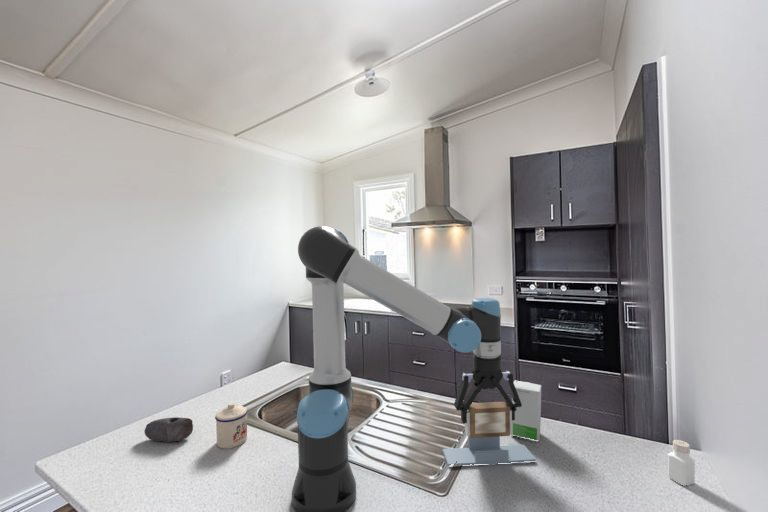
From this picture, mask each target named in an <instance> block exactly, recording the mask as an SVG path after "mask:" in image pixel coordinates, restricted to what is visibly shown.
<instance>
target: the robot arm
mask: <svg viewBox="0 0 768 512" xmlns="http://www.w3.org/2000/svg"><path fill="white" fill-rule="evenodd" d="M297 253H298V257H299V259H300V261H301V263H302V265H303V266H304V267H305V278H306V280H307V281H308V282H309V283H310V284H311V298H312V299H311V300H312V301H311V302H312V305H311V306H312V335H313V336H312V337H313V338H312V341H313V342H312V343H313V371H312V372H311V373H310V374H309V375H308V394H306V395H305V396H304V397H303V398H302V399H301V400H300V402H299V404H298V405H297V412H296V424H297V447H298V448H297V450H298V469H297V472H296V476H295V478H294V479H295V480H294V482H293V486H292V489H291V505H292V508H293V510H294V511H295V512H346V511H347V510H348V509H349V508H350V507H351V506H352V505H353V504H354V502H355V499H356V497H357V483H356V478H355V475H354V473H353V470H352V468H351V465H350V463H349V441H348V440H349V439H348V437H349V436H348V433H349V424H350V423H349V422H350V417H351V412H352V407H353V402H354V391H353V386H352V374H351V371H350V370H349V369H348V368H346V339H345V337H346V336H345V333H346V332H345V331H346V330H345V298H344V297H345V294H344V289H345V288H344V284H345V285H346V286H348V287H351V288H352V289H354V290H356V291H357V292H359V293H361V294H362V295H364V296H367V297H368V298H370V299H371V300H373V301H375V302H377V303H378V304H380V305H382V306H384V307H385V308H387V309H389V310H390V311H392V312H394V313H396V314H398V315H400V316H401V317H403V318H405V319H407V320H408V321H410V322H411V323H413V324H414V325H417V326H419V327H421V328H423V329H424V330H426V331H427V332H429V333H430V334H431V335H433V336H436V337H437V338H439V339H440V340H442V341H444V342H446V343H447V344H449V346H451V348H453V350H455V351H457V352H459V353H462V354H463V353H464V354H466V353H471V352H472V353H473V355H472V369H473V370H472V372H471V373H466V372H462V373H461V383H460V385H459V388H458V391H457V395H456V397H455V401H454V404H453V405H454V407H455V409H456V411H458V412H459V411H460V420H461V423H463V424H464V433H465V434H466V437H468V436H470V412H469V411H468V409H469V407H470V405H471V404H472V403H474V400H475V399H476V397H477V396H478V394H479V393H480V392H482V390H488V389H490V390H494V389H496V390H497V391H498V393H499V394H500V396H501V397H502V399H503V400H504V402H505V403H506V404H507V405H508V406H509V407H510V435H511V434H512V421H513V420H515V411H516V410H517V407H521V406H522V404H521V401H520V399H519V396H518V393H517V391H516V388H515V385H514V374H513V373H512V372H510V371H509V370H506V371H502V356H501V354H502V348H501V347H502V340H501V338H502V337H501V334H502V333H501V330H502V329H501V327H502V326H501V322H502V321H501V319H502V314H501V305H500V301H499V300H497V298H496V299H495V298H490V297H477V298H476V297H475V298H473V299H472V301H471V305H469V306H448V305H446V304H444V303H443V302H441V301H439V300H438V299H436V298H434V297H432V296H431V295H429V294H427V293H426V292H424V291H422V290H420V289H419V288H417V287H415V286H413V285H412V284H410V283H409V282H407V281H405V280H403V279H401V277H398V276H396V275H395V274H393V273H391V272H389V271H388V270H386V269H384V268H383V267H381V266H379V265H378V264H376V263H374V262H372V261H370V260H369V259H367V258H366V257H364V256H362V255H361V254H360V251H359V249H358V247H355V246H354V245H352V244H350V243H349V241H348V239H347V237H346V236H345V235H344V234H343V233H342V232H341V231H340V230H337V228H336V229H335V228H333V227H329V226H324V225H323V226H322V225H320V226H319V225H318V226H315V227H311V228H309V229H308V230H307V231H305V232H304V233H303V234H302V236H301V237H300V238H299V240H298V245H297ZM472 379H473V381H474V382H473V383H472V384H471V385H472V387H470V389H469V391H468V393H467V390H468V388H469V383H471V381H472ZM502 379H503V380H505V382H506V385H507V387H508V390H509V393H510V394H511V399H510V396H508V394H507V392H506V391H505V390H504V388H503V386H502V385H501V384H500V382H501V380H502ZM466 393H467V395H466ZM512 398H513V402H512Z"/></svg>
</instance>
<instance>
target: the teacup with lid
mask: <svg viewBox="0 0 768 512" xmlns="http://www.w3.org/2000/svg"><path fill="white" fill-rule="evenodd" d="M247 414H248V409H247V407H245V406H243V405H236V404H235V403H234V402H230V403H228V404H227V406H226V407H224V408H222V409H220V410H219V411H217V413H216V414H215V416H214V419H215V423H216V425H215V426H216V429H215V430H216V445H217V446H218V447H219V448H221V449H234V448H236V447H239V446H241V445H242V444H244V443H245V442H246V441H247V439H248V421H247V420H248V418H247V417H248V416H247Z"/></svg>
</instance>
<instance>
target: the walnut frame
mask: <svg viewBox="0 0 768 512" xmlns="http://www.w3.org/2000/svg"><path fill="white" fill-rule="evenodd" d="M468 411H469V412H470V438H481V437H499V436H500V437H510V436H511V434H510V407H509V406H508V404H507V403H506V402H505V401H489V402H487V401H486V402H472V404H471V405H470V407H469V409H468Z"/></svg>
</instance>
